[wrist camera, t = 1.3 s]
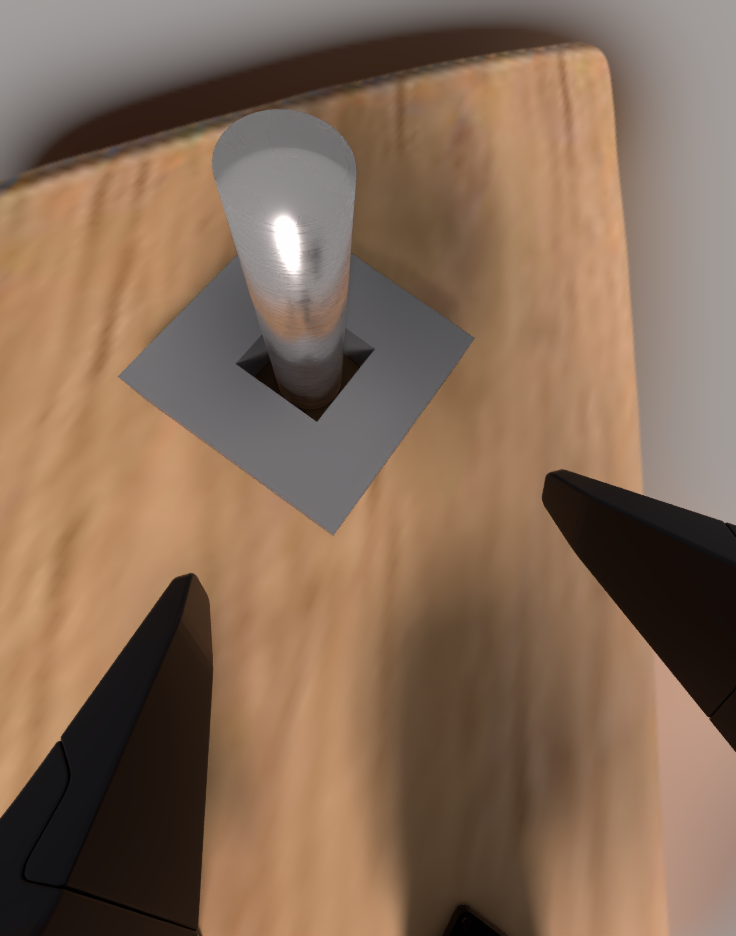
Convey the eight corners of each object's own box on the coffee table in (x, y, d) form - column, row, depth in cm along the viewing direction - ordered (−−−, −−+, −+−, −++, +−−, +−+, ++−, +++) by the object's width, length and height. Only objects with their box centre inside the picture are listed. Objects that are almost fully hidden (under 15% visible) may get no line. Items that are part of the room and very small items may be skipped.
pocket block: (458, 362, 26) (474, 338, 23) (333, 535, 23) (333, 533, 20) (289, 245, 26) (284, 207, 24) (144, 398, 23) (117, 376, 20)
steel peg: (353, 374, 25) (383, 161, 11) (315, 421, 24) (299, 251, 10) (303, 339, 25) (273, 87, 11) (264, 384, 24) (180, 169, 11)
